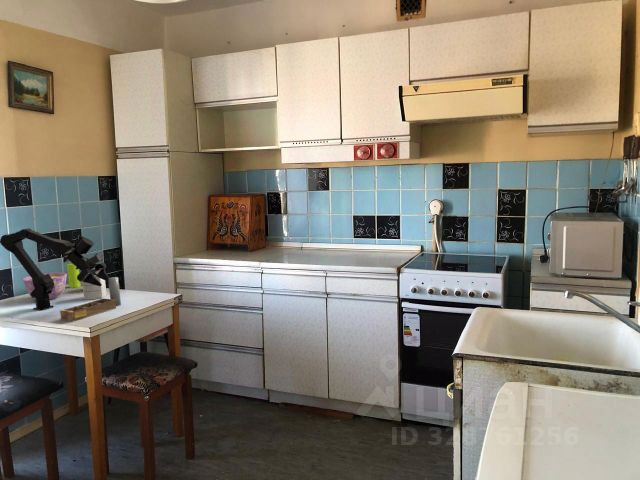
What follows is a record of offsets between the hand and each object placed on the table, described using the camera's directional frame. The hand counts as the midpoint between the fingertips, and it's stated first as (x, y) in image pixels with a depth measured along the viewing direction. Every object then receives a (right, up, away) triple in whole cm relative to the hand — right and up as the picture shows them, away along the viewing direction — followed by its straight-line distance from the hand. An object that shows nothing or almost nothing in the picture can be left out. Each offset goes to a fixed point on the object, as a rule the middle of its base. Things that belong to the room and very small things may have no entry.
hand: (105, 283), depth 242 cm
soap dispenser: (-38, -6, +50) cm, 63 cm away
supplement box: (-14, -9, +20) cm, 26 cm away
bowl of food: (-39, -10, +23) cm, 47 cm away
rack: (-2, -12, -12) cm, 18 cm away
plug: (+4, -10, +1) cm, 11 cm away
